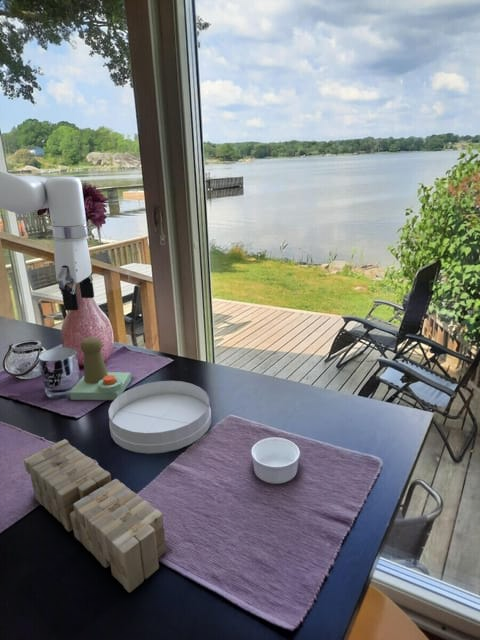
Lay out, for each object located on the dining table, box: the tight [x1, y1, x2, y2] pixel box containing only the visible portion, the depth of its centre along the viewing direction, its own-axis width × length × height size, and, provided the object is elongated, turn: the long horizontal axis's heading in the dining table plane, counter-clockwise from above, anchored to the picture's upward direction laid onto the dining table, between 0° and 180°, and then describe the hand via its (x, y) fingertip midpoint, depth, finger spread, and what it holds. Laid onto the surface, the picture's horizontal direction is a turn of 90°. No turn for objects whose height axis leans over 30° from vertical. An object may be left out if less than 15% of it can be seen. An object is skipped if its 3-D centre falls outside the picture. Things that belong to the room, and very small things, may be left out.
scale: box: [69, 371, 132, 401], centre depth 112 cm, size 12×11×4 cm
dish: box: [108, 380, 212, 454], centre depth 97 cm, size 22×22×5 cm
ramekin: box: [250, 437, 301, 485], centre depth 81 cm, size 9×9×4 cm
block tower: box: [23, 438, 167, 593], centre depth 70 cm, size 8×8×29 cm
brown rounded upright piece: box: [79, 336, 108, 384], centre depth 113 cm, size 6×6×11 cm
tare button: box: [103, 375, 116, 385], centre depth 109 cm, size 3×3×2 cm
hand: (80, 303), depth 107 cm, fingers open, 9 cm apart
